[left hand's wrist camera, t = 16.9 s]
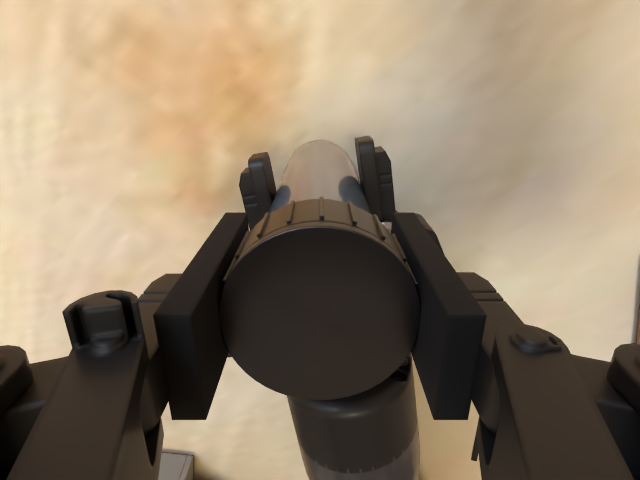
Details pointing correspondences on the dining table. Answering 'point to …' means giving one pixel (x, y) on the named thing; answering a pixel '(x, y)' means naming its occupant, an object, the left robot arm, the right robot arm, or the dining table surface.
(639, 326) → the wooden block
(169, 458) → the digital clock
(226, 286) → the lid
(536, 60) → the dining table surface
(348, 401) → the right robot arm
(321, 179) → the blue-grey cylinder
